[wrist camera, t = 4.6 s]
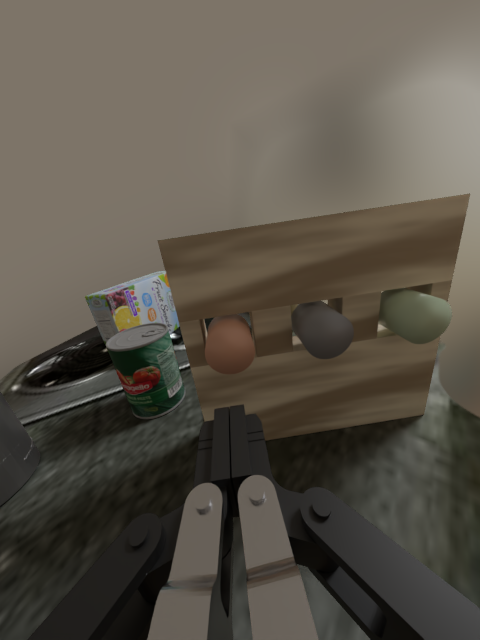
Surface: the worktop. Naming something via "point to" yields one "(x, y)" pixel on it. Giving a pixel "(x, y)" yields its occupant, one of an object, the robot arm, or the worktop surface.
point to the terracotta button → (229, 344)
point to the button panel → (309, 286)
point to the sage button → (414, 315)
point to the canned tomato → (147, 369)
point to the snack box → (134, 305)
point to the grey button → (322, 329)
